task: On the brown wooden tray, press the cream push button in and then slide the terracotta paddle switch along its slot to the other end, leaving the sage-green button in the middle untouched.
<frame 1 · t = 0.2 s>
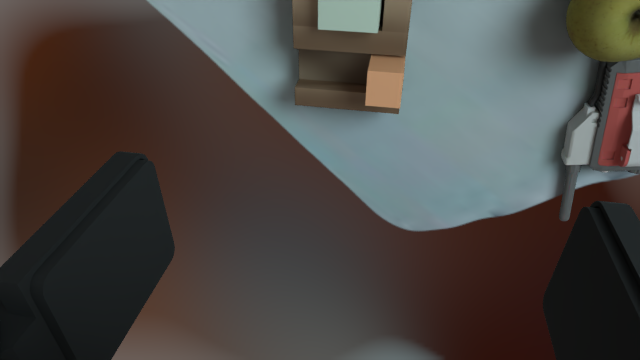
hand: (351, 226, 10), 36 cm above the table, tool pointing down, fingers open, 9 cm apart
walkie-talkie: (610, 132, 46), on the table
slider: (385, 78, 41), point 5 cm above the table, slide at 0.0 cm
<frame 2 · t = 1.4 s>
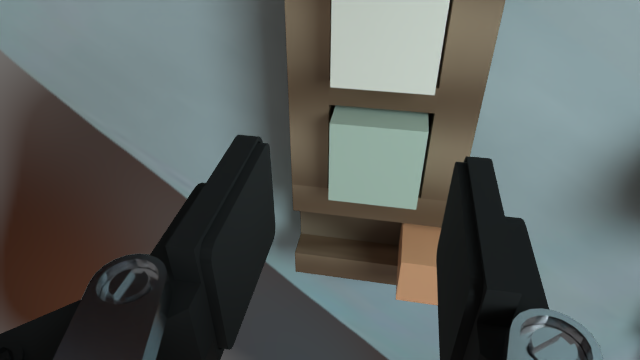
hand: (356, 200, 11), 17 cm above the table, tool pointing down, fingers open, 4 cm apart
button b: (376, 153, 26), point 4 cm above the table, slide at 0.0 cm
brown wooden tray: (381, 120, 29), on the table
slider: (424, 254, 29), point 5 cm above the table, slide at 0.0 cm
button a: (387, 29, 22), point 4 cm above the table, slide at 0.0 cm
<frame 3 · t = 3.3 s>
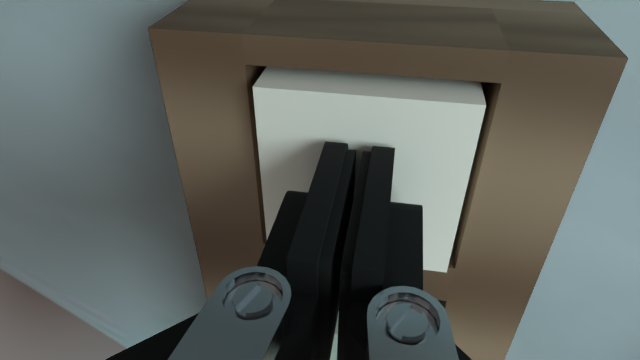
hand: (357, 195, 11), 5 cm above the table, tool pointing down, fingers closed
button b: (350, 342, 16), point 4 cm above the table, slide at 0.0 cm
brown wooden tray: (362, 259, 19), on the table
button a: (365, 156, 12), point 3 cm above the table, slide at 1.0 cm
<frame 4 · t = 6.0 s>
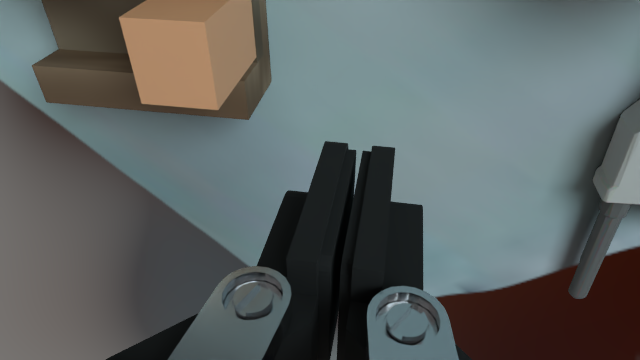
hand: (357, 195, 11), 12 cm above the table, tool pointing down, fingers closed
slider: (198, 40, 18), point 5 cm above the table, slide at 0.0 cm
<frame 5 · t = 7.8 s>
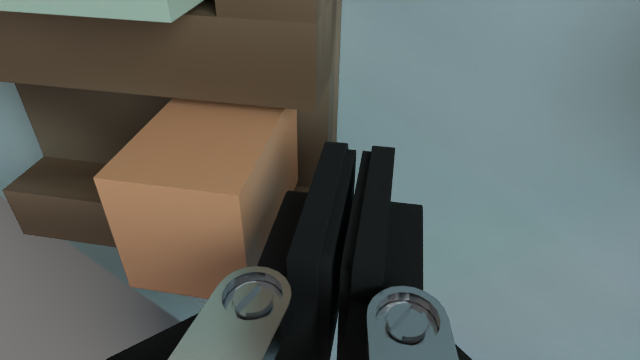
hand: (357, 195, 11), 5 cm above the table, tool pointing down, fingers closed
slider: (219, 179, 12), point 5 cm above the table, slide at 0.9 cm, touching gripper
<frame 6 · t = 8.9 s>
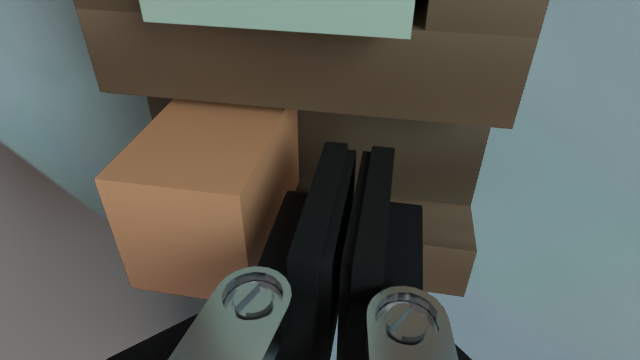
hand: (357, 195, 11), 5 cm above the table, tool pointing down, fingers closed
slider: (220, 180, 12), point 5 cm above the table, slide at 5.3 cm, touching gripper
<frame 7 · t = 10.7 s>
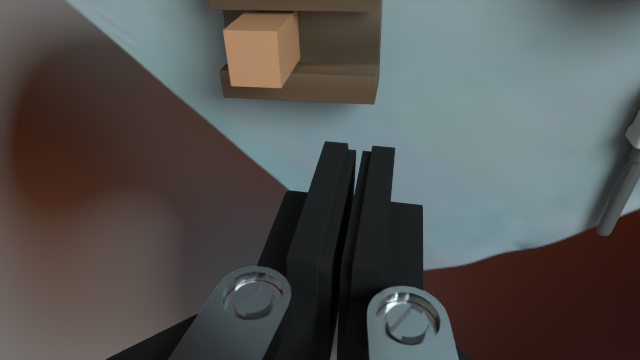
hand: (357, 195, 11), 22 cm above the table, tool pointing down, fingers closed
slider: (265, 45, 27), point 5 cm above the table, slide at 5.1 cm
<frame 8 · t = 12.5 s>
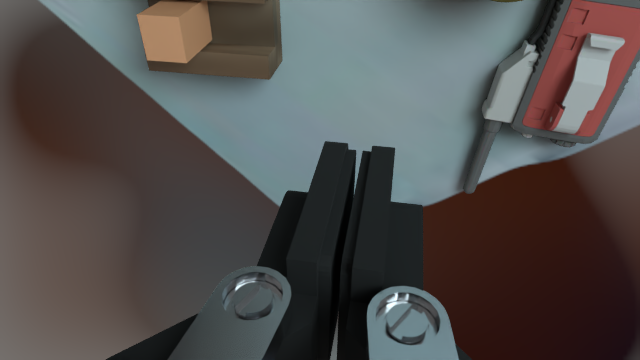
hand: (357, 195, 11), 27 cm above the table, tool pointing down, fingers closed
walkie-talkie: (543, 91, 37), on the table
slider: (177, 28, 34), point 5 cm above the table, slide at 5.1 cm
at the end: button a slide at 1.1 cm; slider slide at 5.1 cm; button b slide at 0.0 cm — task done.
